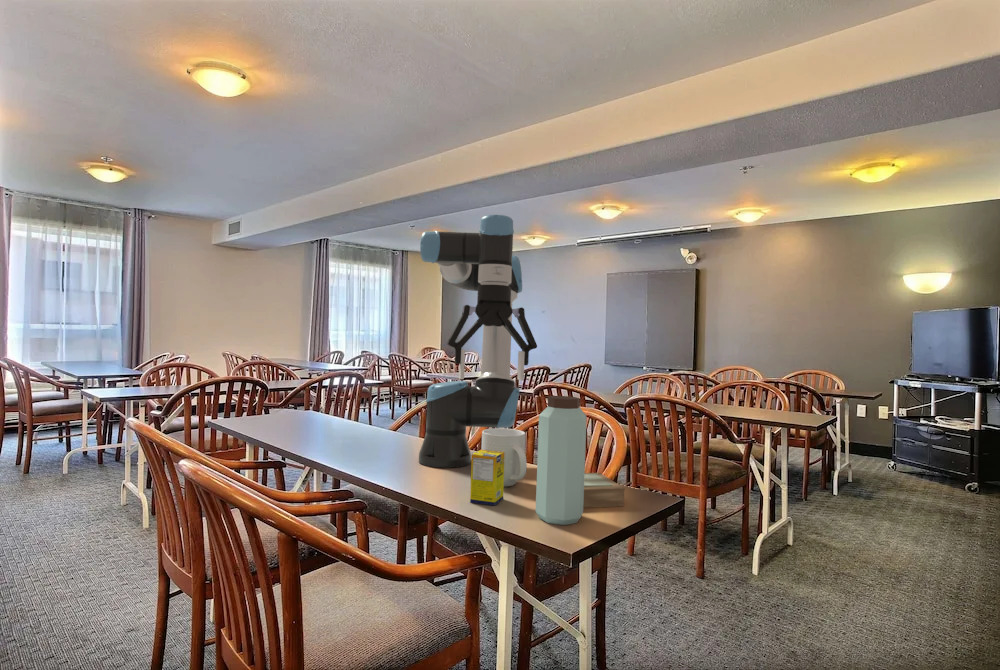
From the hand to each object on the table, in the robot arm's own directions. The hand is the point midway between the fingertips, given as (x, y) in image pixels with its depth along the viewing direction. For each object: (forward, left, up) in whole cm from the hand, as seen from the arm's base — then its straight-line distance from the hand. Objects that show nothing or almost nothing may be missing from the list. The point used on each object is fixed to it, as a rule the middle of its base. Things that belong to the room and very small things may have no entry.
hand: (491, 379), depth 124 cm
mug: (-13, +7, -28) cm, 31 cm away
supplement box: (0, 0, -28) cm, 28 cm away
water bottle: (+13, +13, -28) cm, 33 cm away
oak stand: (0, +23, -27) cm, 36 cm away
